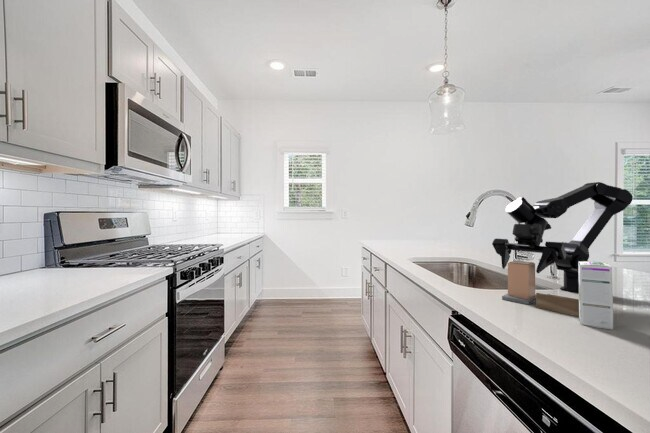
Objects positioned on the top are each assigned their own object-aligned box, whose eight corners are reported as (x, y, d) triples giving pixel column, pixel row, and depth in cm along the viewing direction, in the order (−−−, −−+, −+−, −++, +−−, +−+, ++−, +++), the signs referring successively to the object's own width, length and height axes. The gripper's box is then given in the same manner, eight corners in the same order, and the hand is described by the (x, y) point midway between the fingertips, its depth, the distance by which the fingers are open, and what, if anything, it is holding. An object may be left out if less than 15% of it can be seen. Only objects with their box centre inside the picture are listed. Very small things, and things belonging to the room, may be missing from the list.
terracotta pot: (515, 292, 94) (515, 260, 94) (535, 295, 90) (535, 262, 90) (507, 295, 91) (507, 262, 91) (528, 299, 87) (528, 264, 86)
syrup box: (614, 330, 66) (614, 266, 66) (579, 324, 70) (579, 263, 70) (609, 322, 71) (610, 262, 71) (577, 317, 74) (577, 260, 74)
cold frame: (547, 300, 88) (547, 287, 88) (590, 308, 81) (590, 294, 81) (536, 307, 82) (536, 293, 82) (581, 316, 75) (581, 301, 75)
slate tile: (515, 293, 96) (515, 290, 96) (540, 298, 91) (540, 294, 91) (502, 299, 90) (502, 296, 90) (528, 304, 85) (528, 301, 85)
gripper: (494, 214, 100) (479, 250, 93) (563, 214, 85) (550, 256, 78) (504, 236, 105) (490, 271, 98) (571, 239, 90) (559, 281, 83)
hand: (519, 270), depth 89 cm, fingers open, 9 cm apart
